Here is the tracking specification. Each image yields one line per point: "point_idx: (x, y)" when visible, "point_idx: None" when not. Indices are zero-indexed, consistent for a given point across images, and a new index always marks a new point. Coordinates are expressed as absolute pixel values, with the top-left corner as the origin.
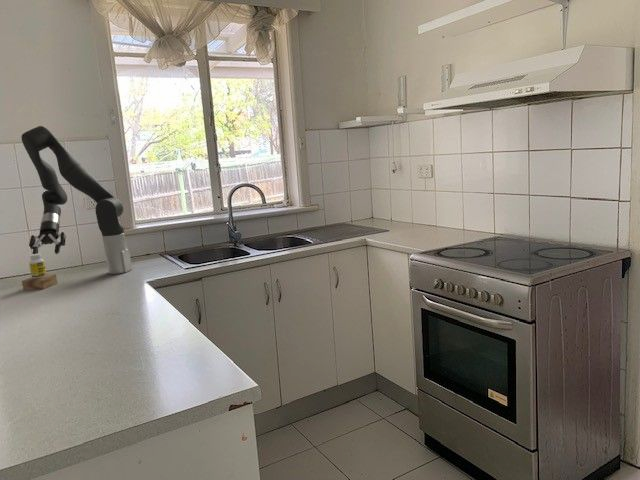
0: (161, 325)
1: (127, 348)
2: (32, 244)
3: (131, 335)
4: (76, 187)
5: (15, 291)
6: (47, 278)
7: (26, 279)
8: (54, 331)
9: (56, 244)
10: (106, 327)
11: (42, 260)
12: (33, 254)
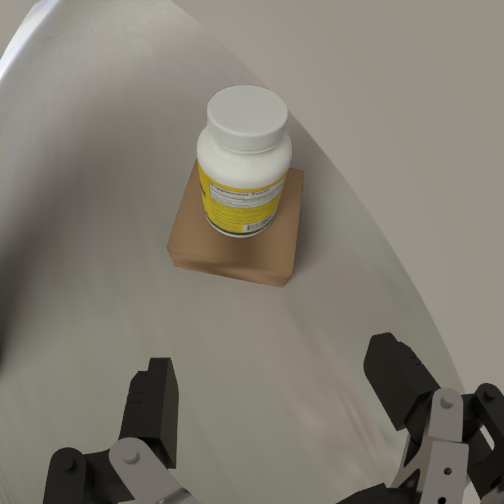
0: (29, 28)
1: (64, 4)
2: (485, 454)
3: (55, 14)
4: None
5: (324, 197)
6: (188, 185)
7: (296, 192)
8: (115, 7)
9: (147, 447)
10: (67, 17)
11: (199, 137)
12: (272, 119)
